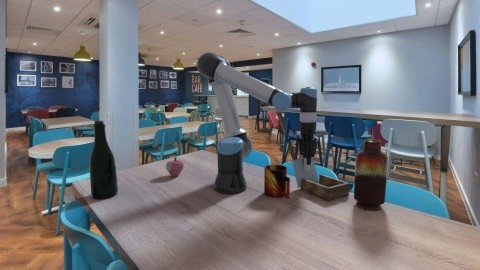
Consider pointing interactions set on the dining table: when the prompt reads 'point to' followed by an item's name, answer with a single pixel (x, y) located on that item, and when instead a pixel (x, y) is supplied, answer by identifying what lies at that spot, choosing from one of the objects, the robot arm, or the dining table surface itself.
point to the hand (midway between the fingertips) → (306, 170)
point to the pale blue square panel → (300, 172)
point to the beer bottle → (102, 165)
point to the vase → (370, 176)
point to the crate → (326, 188)
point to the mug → (276, 181)
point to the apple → (174, 167)
